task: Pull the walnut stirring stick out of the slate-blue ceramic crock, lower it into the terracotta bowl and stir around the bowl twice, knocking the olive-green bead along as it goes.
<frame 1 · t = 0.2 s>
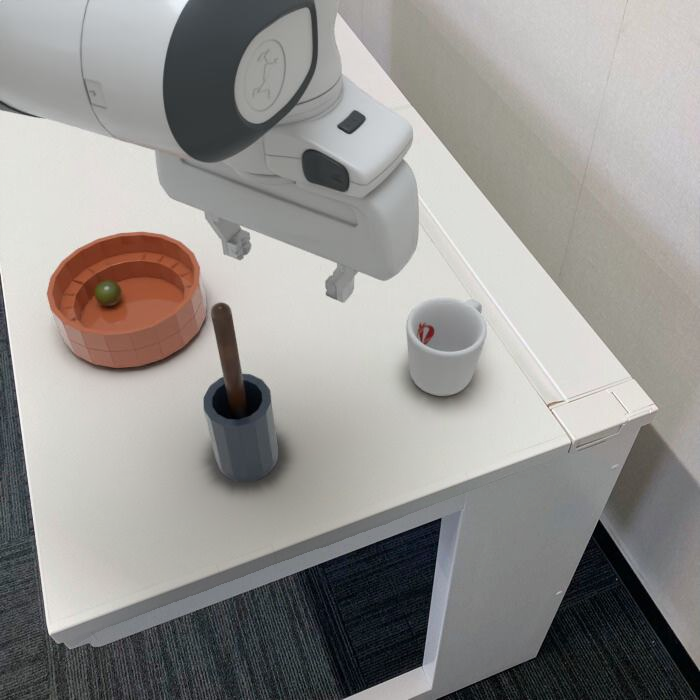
hand: (287, 273, 60), 23 cm above the table, tool pointing down, fingers open, 8 cm apart
crock: (247, 456, 75), on the table
teapot: (238, 82, 124), on the table
stick: (246, 451, 75), point 1 cm above the table, touching crock
bead: (108, 293, 88), point 2 cm above the table, touching bowl
bowl: (136, 318, 88), on the table
cup: (446, 369, 83), on the table
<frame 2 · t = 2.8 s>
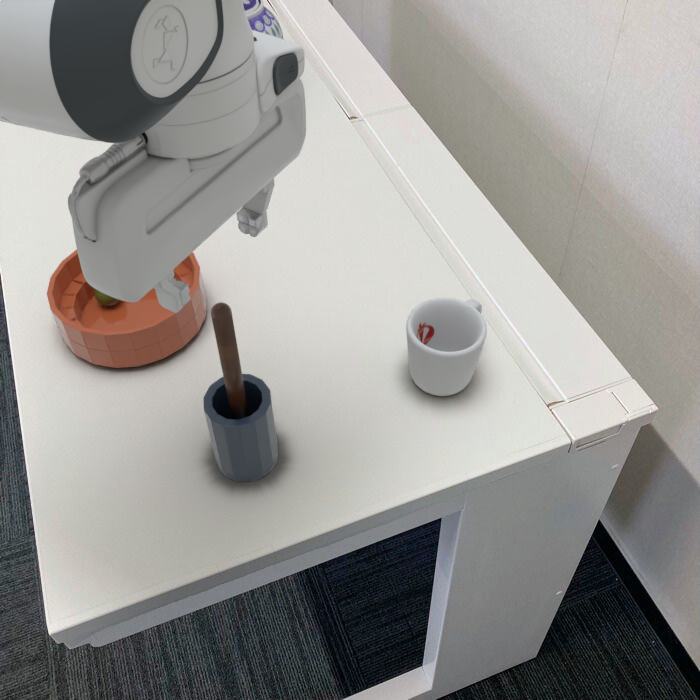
hand: (216, 265, 57), 25 cm above the table, tool pointing down, fingers open, 8 cm apart
nothing on the table moved.
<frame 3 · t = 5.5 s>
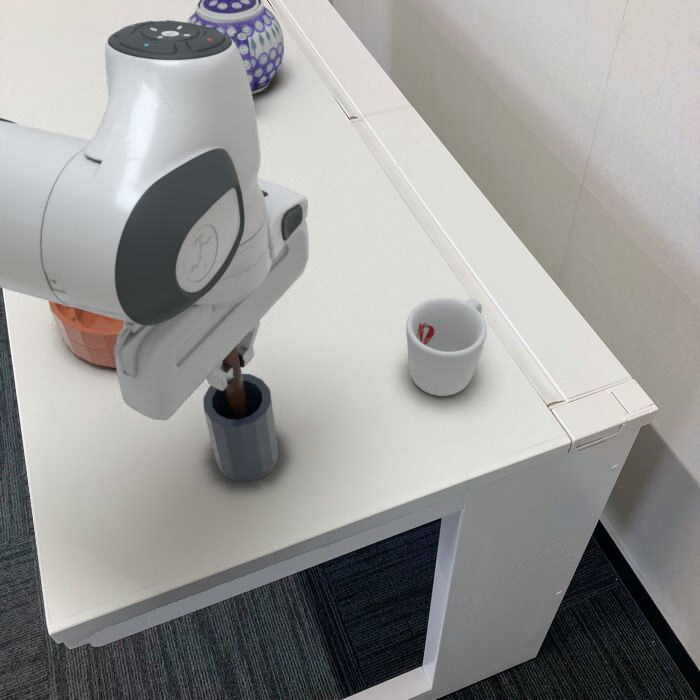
hand: (231, 371, 66), 13 cm above the table, tool pointing down, fingers closed on stick, 1 cm apart
stick: (246, 451, 75), point 1 cm above the table, touching crock, gripper
everything else where it was.
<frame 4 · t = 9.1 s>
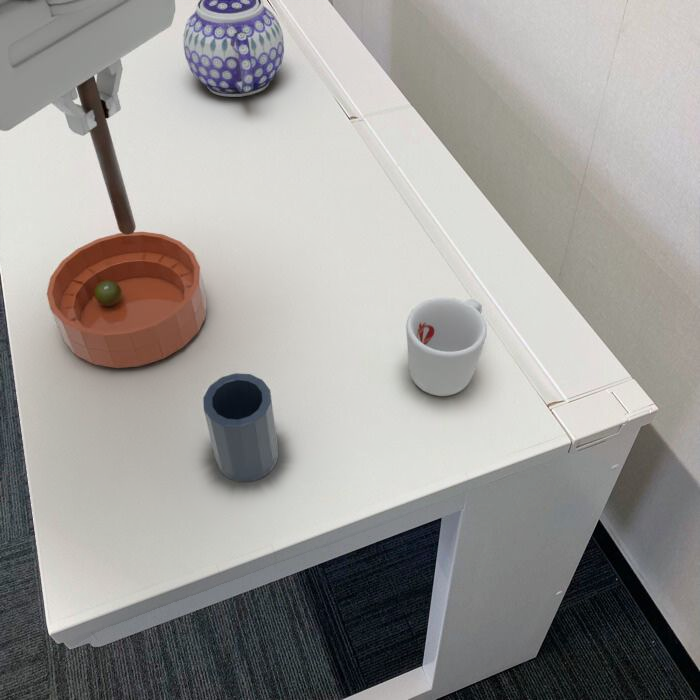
hand: (96, 121, 65), 28 cm above the table, tool pointing down, fingers closed on stick
stick: (128, 232, 74), point 16 cm above the table, touching gripper
everything else where it was.
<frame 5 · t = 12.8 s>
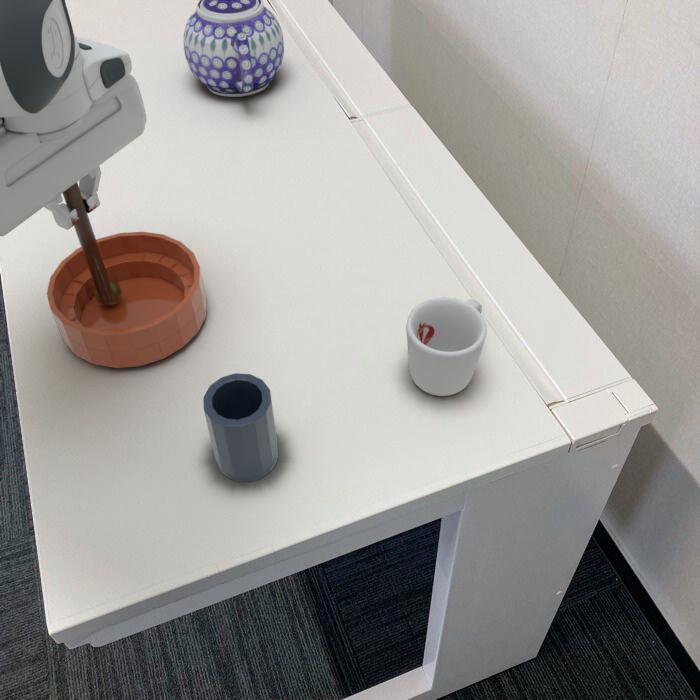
hand: (79, 215, 76), 15 cm above the table, tool pointing down, fingers closed on stick, 1 cm apart
stick: (108, 302, 85), point 3 cm above the table, touching gripper
everything else where it was.
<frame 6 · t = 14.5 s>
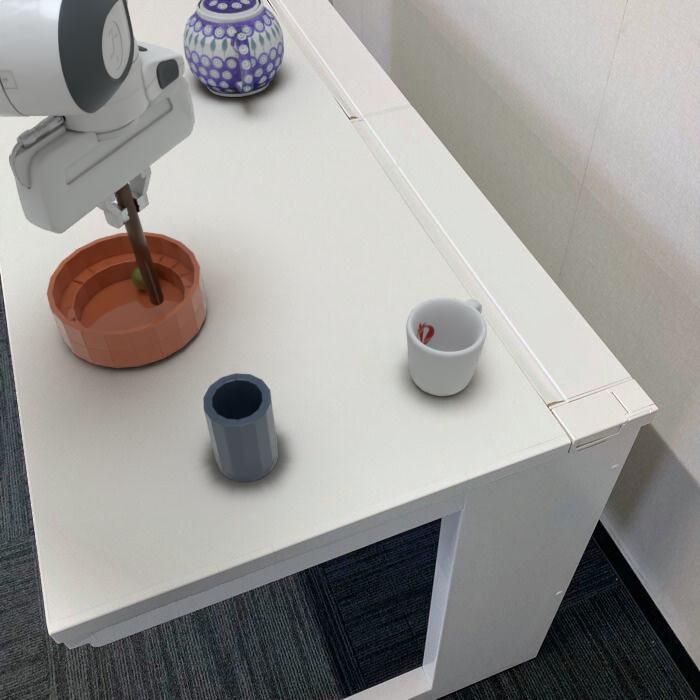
hand: (129, 215, 78), 15 cm above the table, tool pointing down, fingers closed on stick, 1 cm apart
stick: (158, 303, 86), point 2 cm above the table, touching gripper
bead: (144, 277, 89), point 2 cm above the table, tilted 171°, touching bowl
everything else where it was.
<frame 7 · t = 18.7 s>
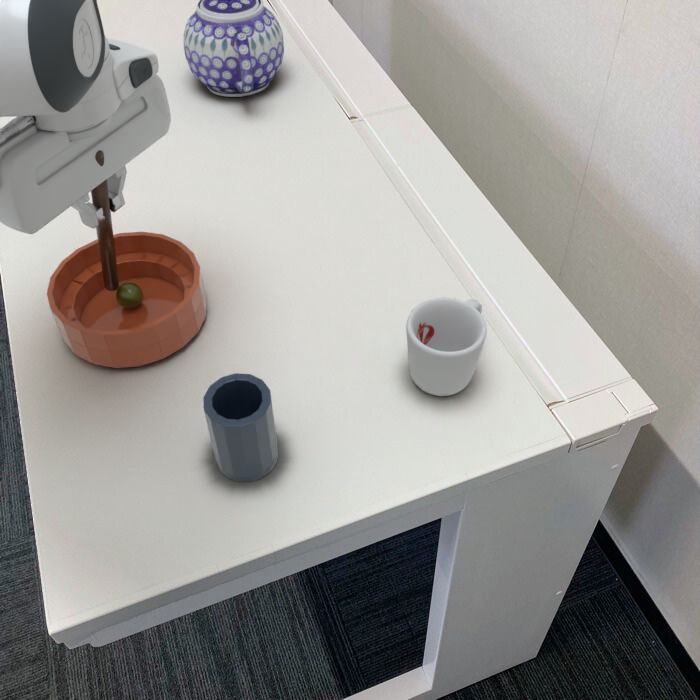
hand: (104, 214, 77), 15 cm above the table, tool pointing down, fingers closed on stick
stick: (112, 288, 86), point 4 cm above the table, tilted 11°, touching gripper
bead: (129, 295, 87), point 2 cm above the table, tilted 45°, touching bowl
everything else where it was.
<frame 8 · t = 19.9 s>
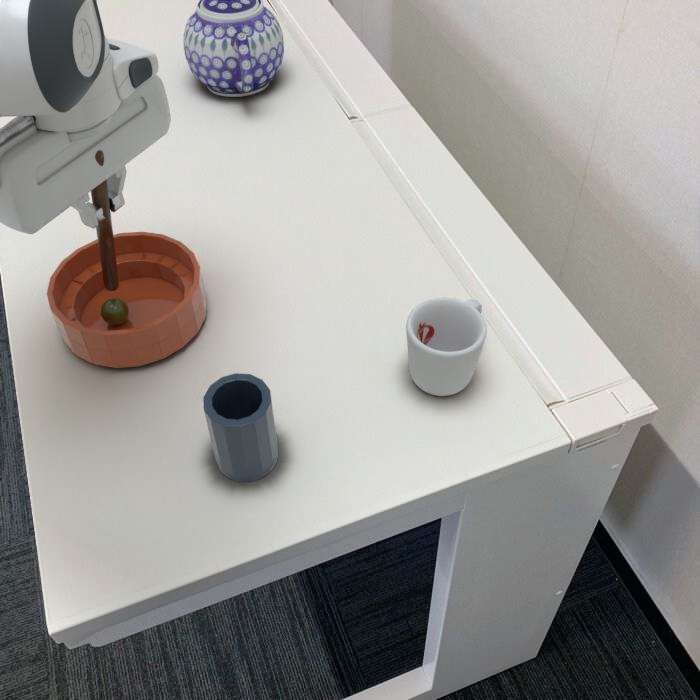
hand: (104, 214, 77), 15 cm above the table, tool pointing down, fingers closed on stick
stick: (112, 288, 86), point 4 cm above the table, tilted 11°, touching gripper
bead: (114, 311, 86), point 2 cm above the table, tilted 63°, touching bowl
everything else where it was.
at the end: stick inside the target area in the bowl (2.5 cm from its centre), point 3.5 cm above the bowl's base; the gripper is holding stick; bead moved 3.6 cm from its start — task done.
